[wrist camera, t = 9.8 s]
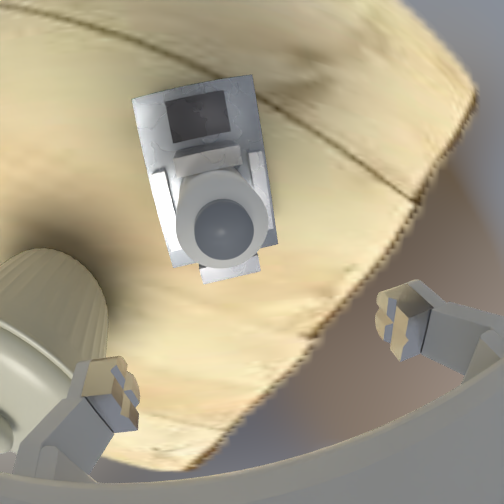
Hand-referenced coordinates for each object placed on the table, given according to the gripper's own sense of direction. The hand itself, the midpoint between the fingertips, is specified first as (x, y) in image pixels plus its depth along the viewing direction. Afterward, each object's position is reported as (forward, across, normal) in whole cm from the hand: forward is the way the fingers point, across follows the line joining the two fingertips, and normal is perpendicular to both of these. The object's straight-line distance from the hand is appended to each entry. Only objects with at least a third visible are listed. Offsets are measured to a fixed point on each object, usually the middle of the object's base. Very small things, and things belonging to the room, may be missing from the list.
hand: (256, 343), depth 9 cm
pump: (+17, 0, 0) cm, 17 cm away
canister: (+23, +20, +8) cm, 31 cm away
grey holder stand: (+23, 0, -2) cm, 23 cm away
